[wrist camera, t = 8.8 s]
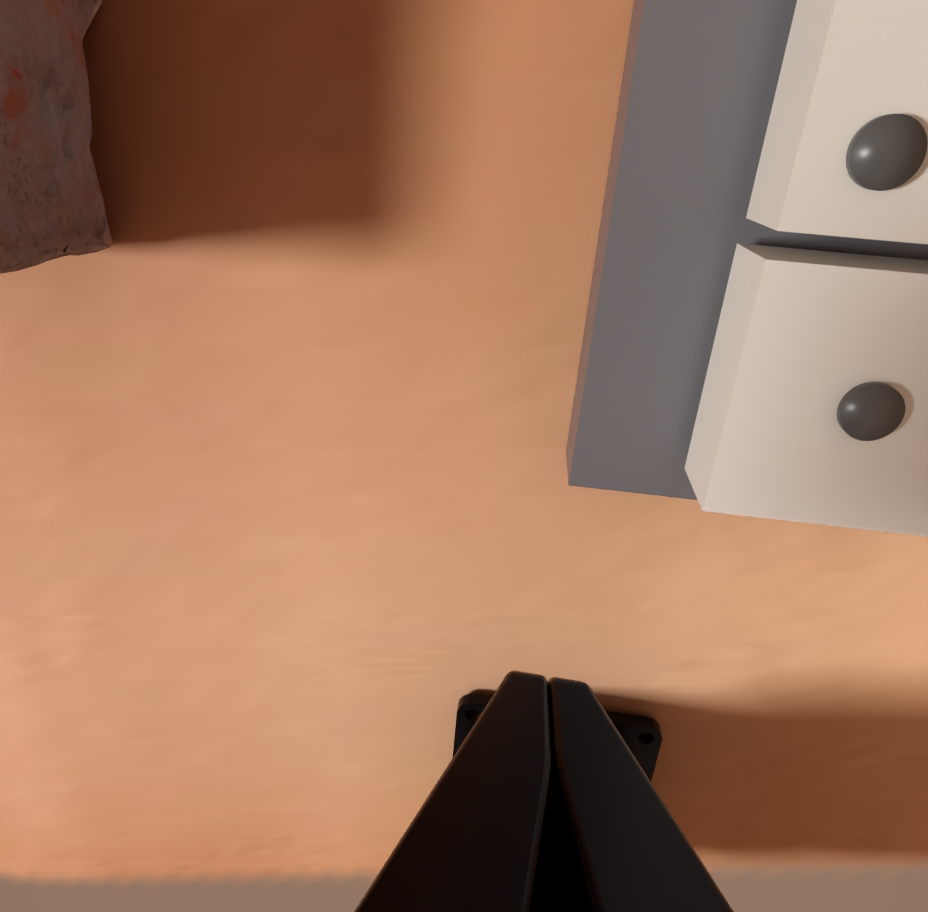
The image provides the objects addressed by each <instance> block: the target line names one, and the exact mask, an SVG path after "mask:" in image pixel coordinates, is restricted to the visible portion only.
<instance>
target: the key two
mask: <svg viewBox="0 0 928 912" xmlns="http://www.w3.org/2000/svg"><path fill="white" fill-rule="evenodd" d="M746 218H747V219H750V220H752V221H754V222H757V223H759V224H762V225H764V226H766V227H769V228H771V229H774V230H776V231H783V232H794V233H806V234H817V235H828V236H839V237H851V238H862V239H873V240H884V241H895V242H907V243H918V244H928V0H797V3H796V7H795V12H794V16H793V20H792V24H791V29H790V33H789V37H788V41H787V46H786V50H785V54H784V58H783V63H782V67H781V71H780V75H779V80H778V84H777V88H776V92H775V97H774V101H773V105H772V109H771V114H770V118H769V122H768V126H767V131H766V135H765V139H764V143H763V148H762V152H761V156H760V160H759V165H758V169H757V173H756V177H755V182H754V186H753V190H752V194H751V199H750V203H749V207H748V211H747V216H746Z"/></svg>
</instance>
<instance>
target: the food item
mask: <svg viewBox="0 0 928 912" xmlns="http://www.w3.org/2000/svg"><path fill="white" fill-rule="evenodd" d="M102 1H103V0H0V273H7V272H13V271H18V270H22V269H25V268H29V267H32V266H36V265H38V264H41V263H43V262H46V261H48V260H52V259H55V258H59V257H62V256H67V255H83V254H88V253H94V252H98V251H101V250H103V249H106V248H109V247H111V246H112V245H113V242H112V237H111V233H110V229H109V225H108V221H107V217H106V213H105V207H104V200H103V196H102V192H101V189H100V186H99V182H98V178H97V174H96V170H95V166H94V162H93V158H92V155H91V152H90V148H89V146H90V142H91V138H92V120H91V105H90V93H89V81H88V74H87V68H86V62H85V56H84V51H83V45H82V41H83V38H84V36H85V33H86V31H87V29H88V27H89V26H90V24H91V22H92V20H93V18H94V16H95V14H96V12H97V11H98V9H99V7H100V5H101V3H102Z"/></svg>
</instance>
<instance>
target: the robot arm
mask: <svg viewBox="0 0 928 912" xmlns="http://www.w3.org/2000/svg"><path fill="white" fill-rule="evenodd" d="M469 709H476V710H478V711H471V710H469ZM643 732H648V734H641V733H643ZM661 742H662V734H661V729H660V725H659V724H658V722H657V721H656V720H654V719H653V718H649V717H645V716H637V715H630V714H622V713H615V712H607V711H605V710H604V708H603V707H602V705H601V704H600V702H599V701H598V699H597V697H596V696H595V694H594V693H593V691H592V690H591V688H590V687H589V686H588V685H587V684H586V683H584V682H581V681H575V680H569V679H563V678H557V677H553V678H551V679H550V680H549V681H548V682H547V680H546V678H545V677H544V676H542V675H538V674H532V673H526V672H520V671H511V672H509V673H508V674H507V675H506V676H505V678H504V679H503V681H502V683H501V684H500V686H499V687H498V689H497V690H496V692H495V693H494V695H493V696H488V695H480V694H467V695H464V696H463V697H462V698H461V699H460V700H459V703H458V709H457V718H456V729H455V740H454V750H453V759H452V760H451V762H450V763H449V765H448V766H447V768H446V770H445V771H444V773H443V774H442V776H441V777H440V779H439V780H438V782H437V784H436V785H435V787H434V788H433V790H432V791H431V793H430V794H429V796H428V798H427V799H426V801H425V802H424V804H423V805H422V807H421V808H420V810H419V812H418V813H417V815H416V816H415V818H414V819H413V821H412V822H411V824H410V826H409V827H408V829H407V830H406V832H405V833H404V835H403V836H402V838H401V840H400V841H399V843H398V844H397V846H396V847H395V849H394V850H393V852H392V854H391V855H390V857H389V858H388V860H387V861H386V863H385V864H384V866H383V868H382V869H381V871H380V872H379V874H378V875H377V877H376V878H375V880H374V882H373V883H372V885H371V886H370V888H369V889H368V891H367V892H366V894H365V896H364V897H363V899H362V900H361V902H360V903H359V905H358V906H357V908H356V909H355V911H354V912H733V910H732V908H731V907H730V905H729V904H728V902H727V901H726V899H725V897H724V896H723V894H722V893H721V892H720V890H719V888H718V887H717V885H716V883H715V882H714V880H713V879H712V877H711V876H710V874H709V872H708V871H707V869H706V868H705V866H704V865H703V863H702V861H701V860H700V858H699V857H698V855H697V854H696V852H695V851H694V849H693V847H692V846H691V844H690V843H689V841H688V840H687V838H686V836H685V835H684V833H683V832H682V830H681V829H680V827H679V826H678V824H677V822H676V821H675V819H674V818H673V816H672V815H671V813H670V811H669V810H668V808H667V807H666V805H665V804H664V802H663V801H662V799H661V797H660V796H659V794H658V793H657V791H656V790H655V788H654V786H653V785H652V783H651V779H652V775H653V772H654V768H655V764H656V760H657V757H658V753H659V749H660V745H661Z"/></svg>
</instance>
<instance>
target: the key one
mask: <svg viewBox="0 0 928 912" xmlns="http://www.w3.org/2000/svg"><path fill="white" fill-rule="evenodd" d="M684 469H685V471H686V473H687V476H688V478H689V480H690V483H691V485H692V488H693V490H694V492H695V495H696V497H697V500H698V502H699V504H700V507H701V509H702V511H707V512H716V513H725V514H733V515H742V516H751V517H760V518H768V519H777V520H786V521H794V522H803V523H812V524H820V525H829V526H838V527H847V528H855V529H864V530H873V531H881V532H890V533H899V534H907V535H916V536H925V537H928V260H917V259H906V258H895V257H884V256H872V255H861V254H850V253H839V252H828V251H817V250H806V249H795V248H784V247H773V246H762V245H751V244H740V243H737V245H736V250H735V254H734V258H733V262H732V267H731V271H730V275H729V280H728V284H727V288H726V292H725V297H724V301H723V305H722V310H721V314H720V318H719V322H718V327H717V331H716V335H715V340H714V344H713V348H712V352H711V357H710V361H709V365H708V369H707V374H706V378H705V382H704V387H703V391H702V395H701V399H700V404H699V408H698V412H697V417H696V421H695V425H694V429H693V434H692V438H691V442H690V447H689V451H688V455H687V459H686V464H685V468H684Z"/></svg>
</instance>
